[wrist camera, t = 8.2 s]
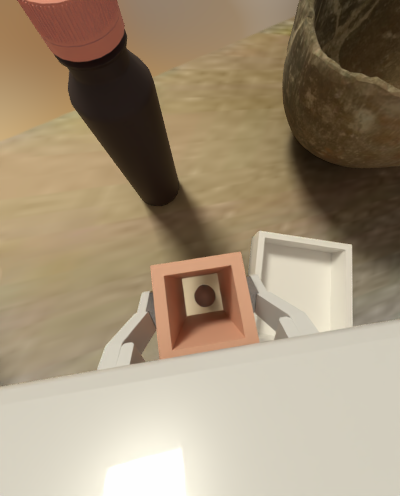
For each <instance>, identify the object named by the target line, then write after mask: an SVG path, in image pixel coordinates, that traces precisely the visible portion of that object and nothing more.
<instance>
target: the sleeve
mask: <svg viewBox="0 0 400 496" xmlns="http://www.w3.org/2000/svg"><path fill="white" fill-rule="evenodd" d="M150 267H151V277H152V287H153V297H154V308H155V318H156V328H157V338H158V348H159V358H160V359H166V358H172V357H178V356H184V355H189V354H195V353H201V352H207V351H213V350H219V349H225V348H230V347H236V346H242V345H248V344H254V343H260V342H259V337H258V332H257V328H256V323H255V318H254V313H253V308H252V303H251V299H250V294H249V289H248V284H247V279H246V274H245V270H244V265H243V260H242V255H241V252H235V253H228V254H222V255H215V256H209V257H203V258H196V259H190V260H183V261H177V262H171V263H164V264H158V265H151V266H150ZM215 273H217V276H218V282H219V288H220V293H221V299H222V305H223V310H220V311H214V312H208V313H202V314H196V315H190V316H187V313H186V305H185V298H184V290H183V283H182V279H183V278H190V277H196V276H202V275H209V274H215Z"/></svg>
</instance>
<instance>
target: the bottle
mask: <svg viewBox="0 0 400 496" xmlns="http://www.w3.org/2000/svg"><path fill="white" fill-rule="evenodd" d="M17 1H18V2H19V3H20V5H21V7H22V8H23V9H24V11H25V13H26V14H27V16H28V17H29V19H30V20H31V22H32V23H33V25H34V26H35V28H36V29H37V31H38V32H39V34H40V35H41V37H42V38H43V40H44V41H45V43H46V44H47V46H48V47H49V49H50V50H51V51H52V52H53V54H54V55H55V57H56V58H57V59H58V60H59V62H60V63H61V64H63V65H64V66H66V67H67V68H68V69H69V71H70V72H69V82H68V92H69V96H70V100H71V103H72V105H73V107H74V108H75V110H76V111H77V112H78V114H79V115H80V116H81V118H82V119H83V120H84V122H85V123H86V124H87V126H88V127H89V128H90V130H91V131H92V132H93V134H94V135H95V137H96V138H97V139H98V141H99V142H100V143H101V145H102V146H103V147H104V149H105V150H106V151H107V153H108V154H109V155H110V157H111V158H112V159H113V161H114V162H115V164H116V165H117V166H118V168H119V169H120V170H121V172H122V173H123V174H124V176H125V177H126V178H127V180H128V181H129V182H130V184H131V185H132V186H133V188H134V189H135V191H136V192H137V193H138V195H139V196H140V197H141V199H142V200H143V201H145V202H146V203H148V204H150V205H153V206H162V205H165V204H168V203H169V202H171V201H172V200H173V199H174V198H175V196H176V195H177V193H178V190H179V182H178V178H177V174H176V169H175V165H174V161H173V157H172V153H171V149H170V145H169V141H168V137H167V133H166V129H165V125H164V121H163V117H162V113H161V109H160V105H159V101H158V97H157V92H156V88H155V84H154V81H153V78H152V76H151V73H150V71H149V69H148V67H147V66H146V65H145V64H144V63H143V62H142V61H141V60H140V59H139V58H138V57H137V56H135V55H134V54H133V53H131V52H130V51H129V50H128V49H127V48H126V44H127V35H126V32H125V29H124V26H125V25H124V23H123V19H122V16H121V13H120V9H119V6H118V2H117V0H17Z"/></svg>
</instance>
